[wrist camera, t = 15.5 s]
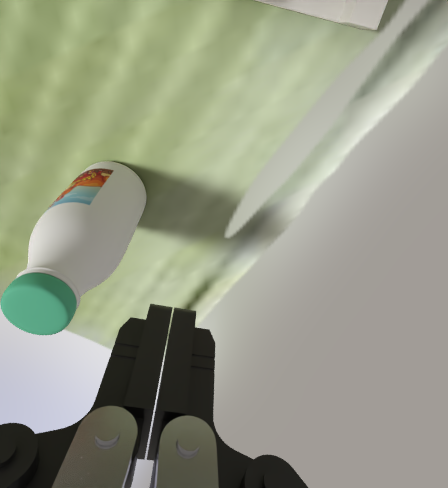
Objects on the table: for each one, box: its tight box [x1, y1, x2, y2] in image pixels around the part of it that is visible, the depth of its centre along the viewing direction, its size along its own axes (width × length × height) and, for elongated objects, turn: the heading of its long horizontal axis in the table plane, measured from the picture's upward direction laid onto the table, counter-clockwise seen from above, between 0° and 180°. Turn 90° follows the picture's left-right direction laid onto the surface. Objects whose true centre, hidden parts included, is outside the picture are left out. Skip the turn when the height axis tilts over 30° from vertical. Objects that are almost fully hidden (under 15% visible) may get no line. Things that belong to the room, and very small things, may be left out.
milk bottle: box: [1, 161, 147, 335], centre depth 32 cm, size 8×8×20 cm
